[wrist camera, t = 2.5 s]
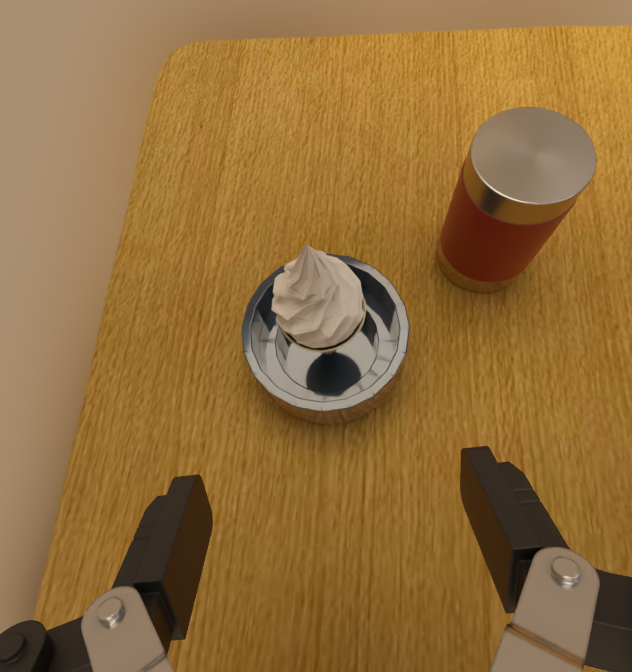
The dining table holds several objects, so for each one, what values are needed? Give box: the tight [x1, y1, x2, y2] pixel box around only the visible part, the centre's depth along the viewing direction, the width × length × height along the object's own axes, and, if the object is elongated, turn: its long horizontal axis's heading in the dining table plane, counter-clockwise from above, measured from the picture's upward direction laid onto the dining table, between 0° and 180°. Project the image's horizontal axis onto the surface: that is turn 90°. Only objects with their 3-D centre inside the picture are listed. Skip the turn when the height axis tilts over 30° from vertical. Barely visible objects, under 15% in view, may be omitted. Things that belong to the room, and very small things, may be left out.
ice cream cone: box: [271, 244, 366, 355], centre depth 26 cm, size 5×5×15 cm
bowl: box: [242, 254, 409, 424], centre depth 31 cm, size 10×10×6 cm
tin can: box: [437, 107, 596, 293], centre depth 30 cm, size 7×7×11 cm
